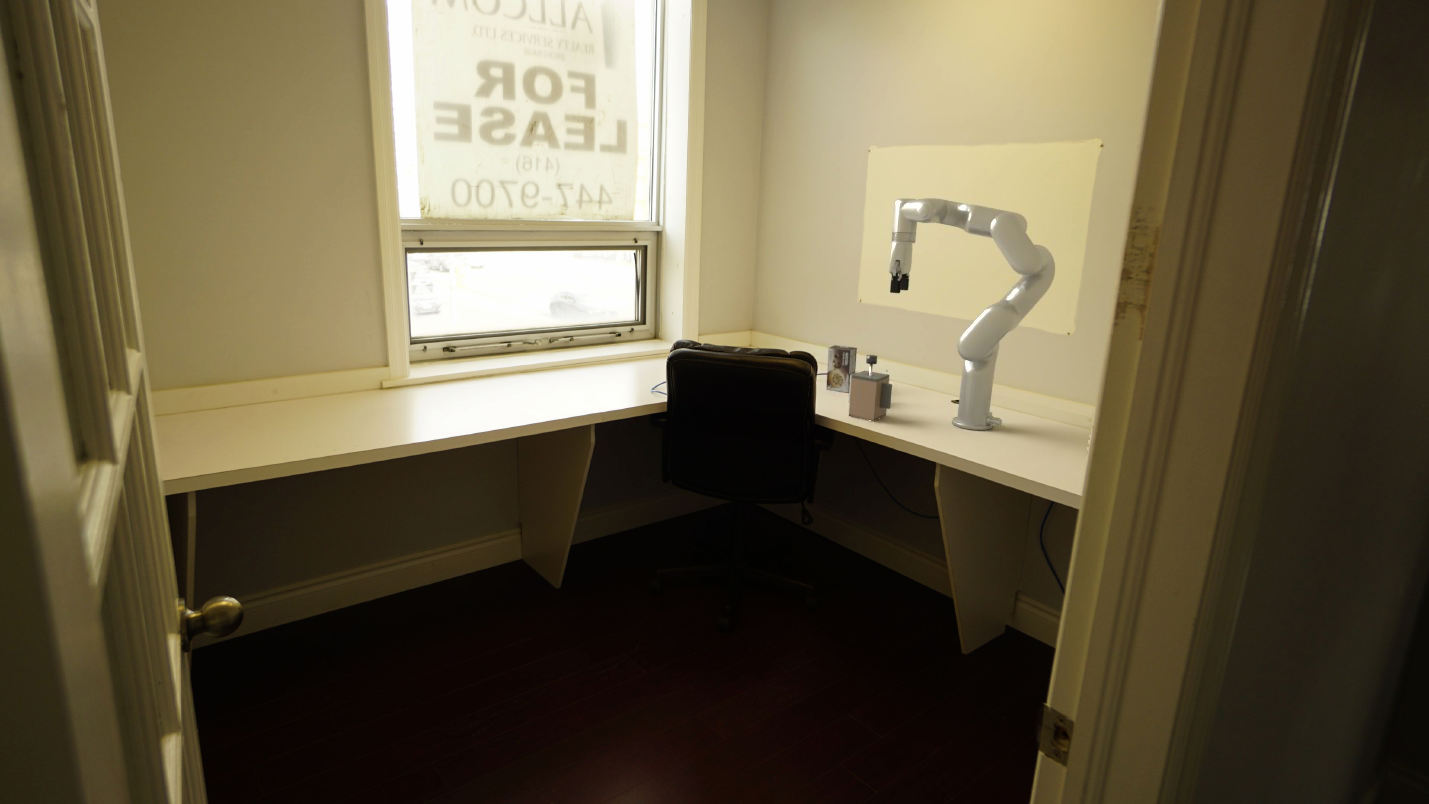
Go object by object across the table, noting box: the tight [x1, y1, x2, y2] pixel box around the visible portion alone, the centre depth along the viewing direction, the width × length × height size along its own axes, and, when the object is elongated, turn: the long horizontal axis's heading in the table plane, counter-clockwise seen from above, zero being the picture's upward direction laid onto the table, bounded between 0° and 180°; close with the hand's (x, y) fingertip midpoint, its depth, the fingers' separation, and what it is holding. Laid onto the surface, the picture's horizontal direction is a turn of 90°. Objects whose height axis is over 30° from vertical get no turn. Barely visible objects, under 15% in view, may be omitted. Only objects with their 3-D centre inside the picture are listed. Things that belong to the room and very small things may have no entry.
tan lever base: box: [848, 370, 893, 422], centre depth 252 cm, size 12×9×14 cm
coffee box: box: [825, 344, 858, 394], centre depth 287 cm, size 9×6×16 cm
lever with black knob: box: [865, 354, 878, 376], centre depth 252 cm, size 6×6×17 cm
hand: (899, 291), depth 252 cm, fingers open, 9 cm apart
